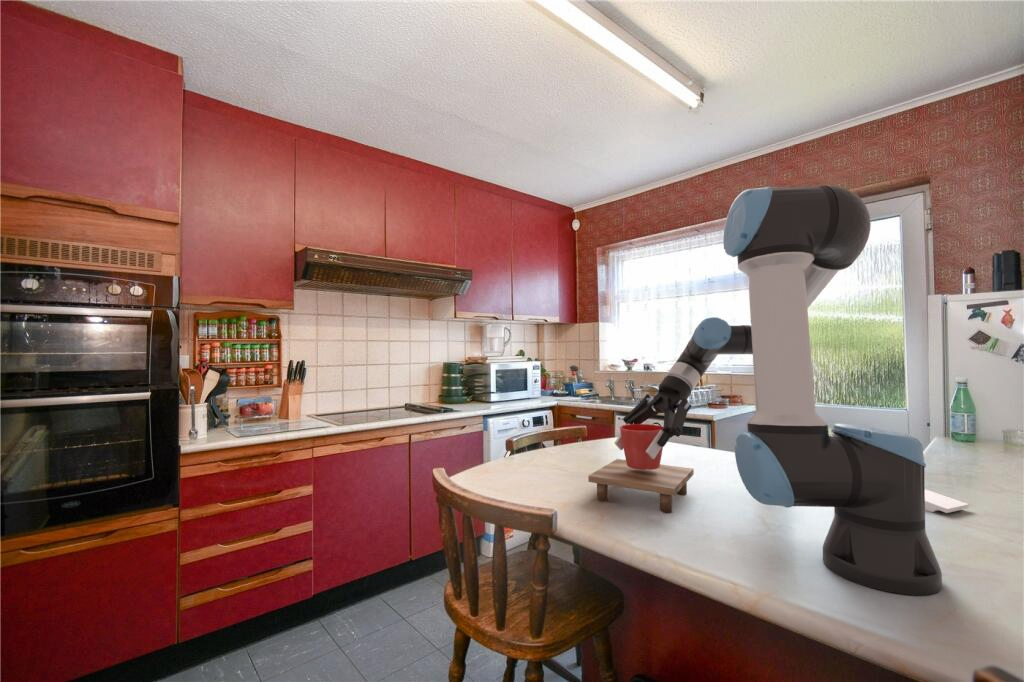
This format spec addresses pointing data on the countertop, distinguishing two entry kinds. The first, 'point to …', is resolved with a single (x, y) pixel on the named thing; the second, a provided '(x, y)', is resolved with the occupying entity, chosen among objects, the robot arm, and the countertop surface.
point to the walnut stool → (643, 481)
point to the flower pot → (640, 445)
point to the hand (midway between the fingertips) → (633, 450)
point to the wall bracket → (942, 503)
